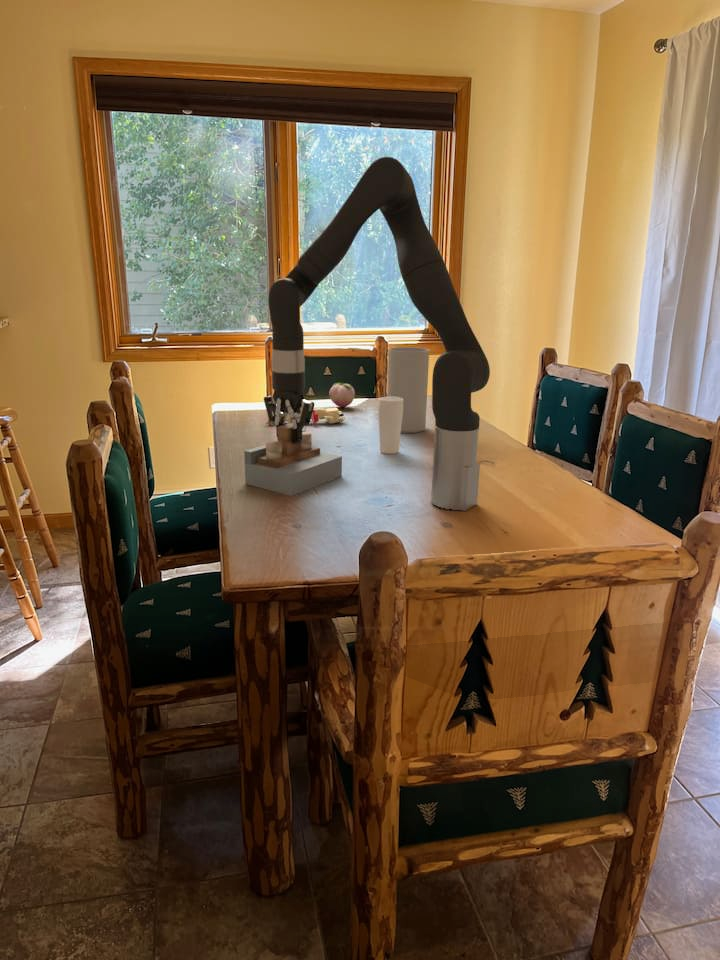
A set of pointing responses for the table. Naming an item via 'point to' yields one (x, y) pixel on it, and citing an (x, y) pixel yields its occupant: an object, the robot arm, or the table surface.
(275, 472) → the grey stepped block
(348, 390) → the decorative fruit
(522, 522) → the table surface
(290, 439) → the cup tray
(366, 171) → the robot arm
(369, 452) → the table surface
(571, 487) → the table surface
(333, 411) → the cat figure
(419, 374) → the cylinder vase
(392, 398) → the drinking glass
